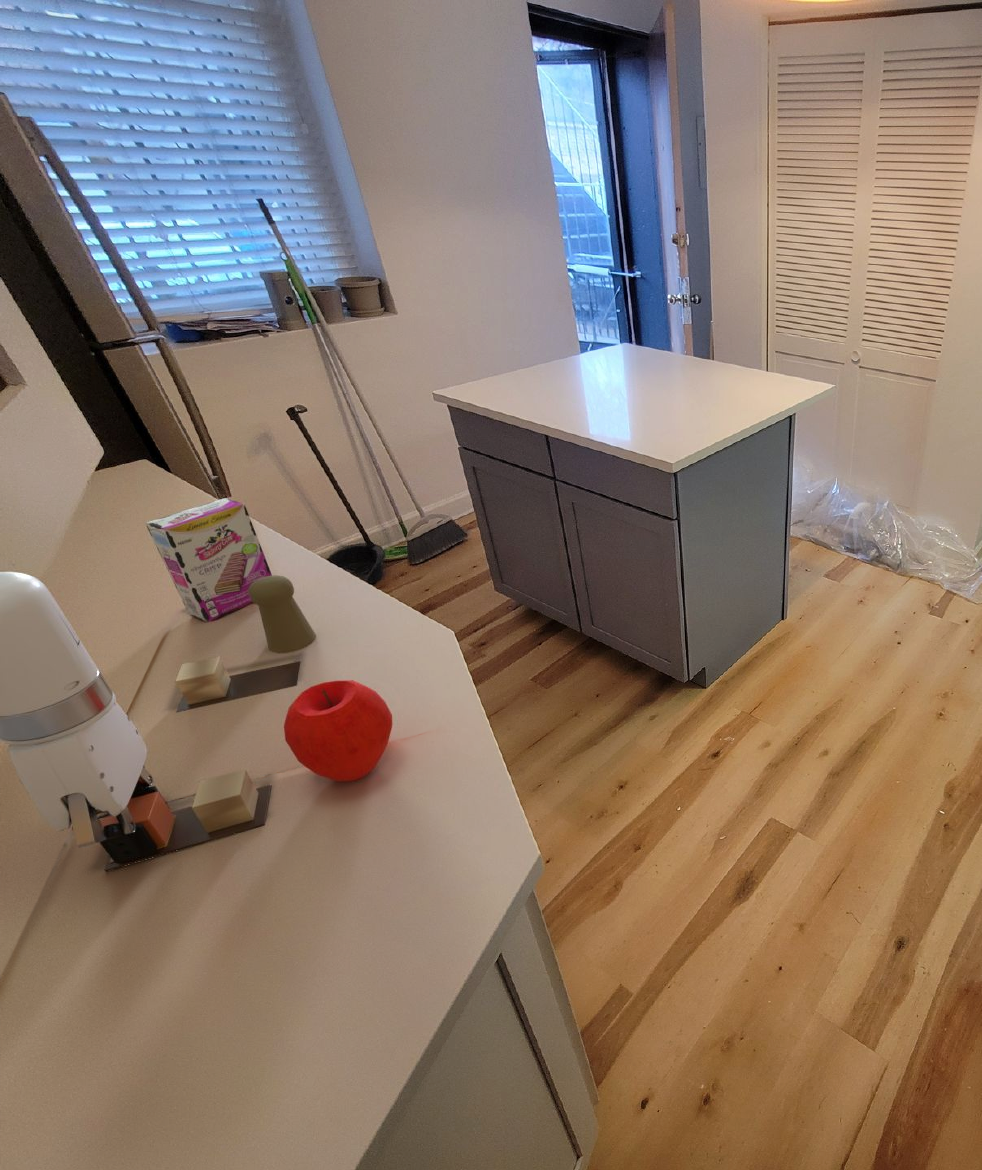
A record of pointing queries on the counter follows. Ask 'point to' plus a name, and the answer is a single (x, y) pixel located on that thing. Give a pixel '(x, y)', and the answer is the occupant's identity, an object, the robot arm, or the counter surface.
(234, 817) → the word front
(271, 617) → the olive green shaker
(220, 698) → the grey rectangular tray
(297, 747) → the apple
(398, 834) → the counter surface
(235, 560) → the candy bar box
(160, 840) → the orange rounded box
